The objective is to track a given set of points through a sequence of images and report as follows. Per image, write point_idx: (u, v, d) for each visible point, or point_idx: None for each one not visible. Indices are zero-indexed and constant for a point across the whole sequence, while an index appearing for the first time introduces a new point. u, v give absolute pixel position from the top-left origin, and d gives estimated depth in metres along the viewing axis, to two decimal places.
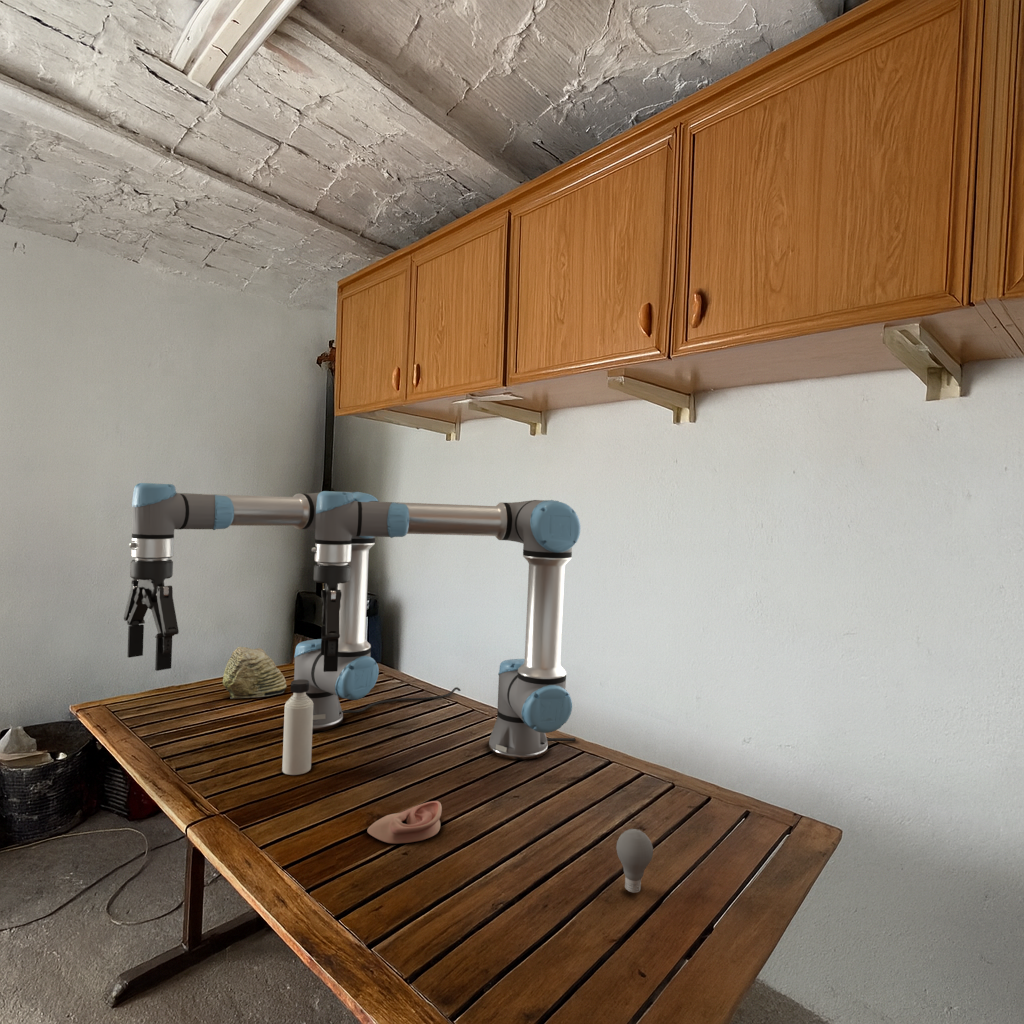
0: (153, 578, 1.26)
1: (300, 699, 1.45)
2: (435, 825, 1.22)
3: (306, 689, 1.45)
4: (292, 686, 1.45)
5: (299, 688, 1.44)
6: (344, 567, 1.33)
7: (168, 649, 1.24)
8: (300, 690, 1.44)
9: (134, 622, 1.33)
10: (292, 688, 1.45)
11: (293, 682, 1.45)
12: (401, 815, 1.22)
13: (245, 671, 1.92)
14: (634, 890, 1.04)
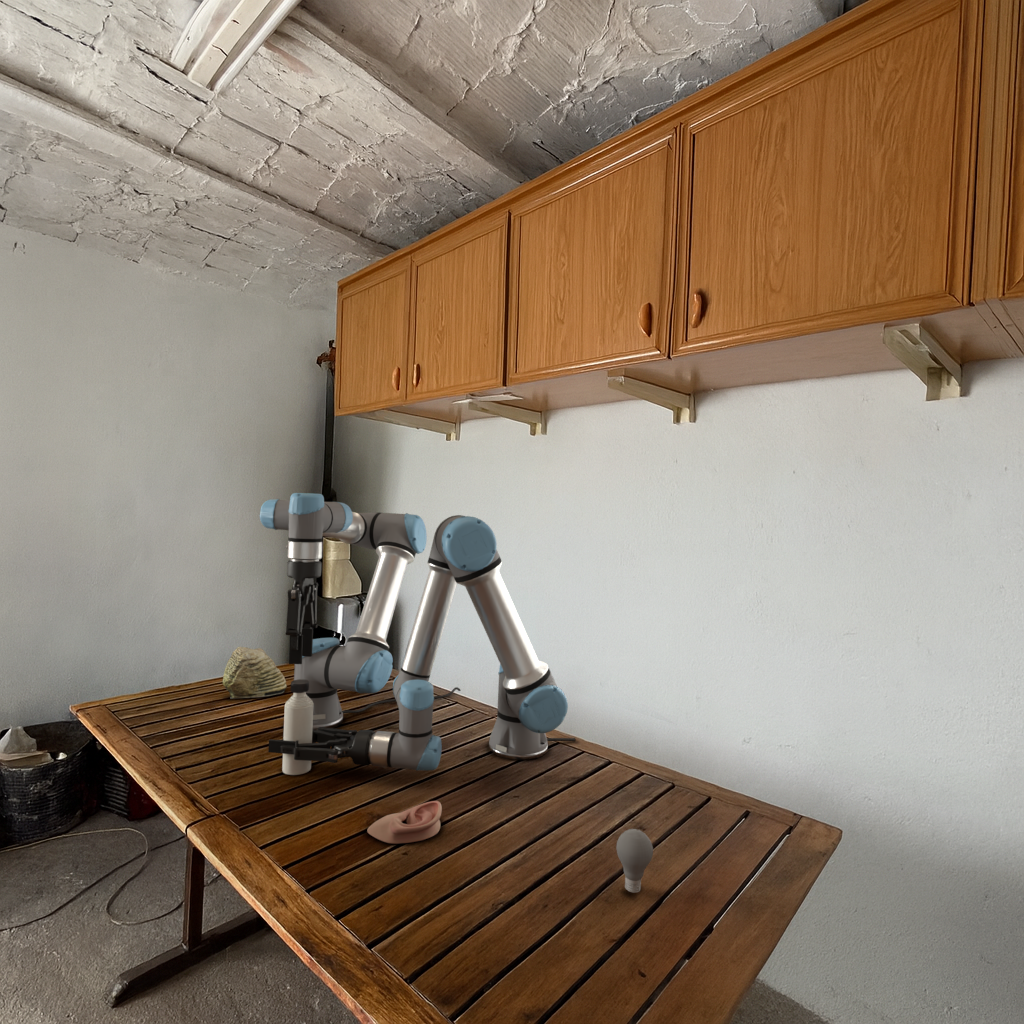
0: (293, 576, 1.42)
1: (300, 699, 1.45)
2: (435, 825, 1.22)
3: (306, 689, 1.45)
4: (292, 686, 1.45)
5: (299, 688, 1.44)
6: None
7: (294, 646, 1.41)
8: (300, 690, 1.44)
9: (306, 624, 1.50)
10: (292, 688, 1.45)
11: (293, 682, 1.45)
12: (401, 815, 1.22)
13: (245, 671, 1.92)
14: (634, 890, 1.04)
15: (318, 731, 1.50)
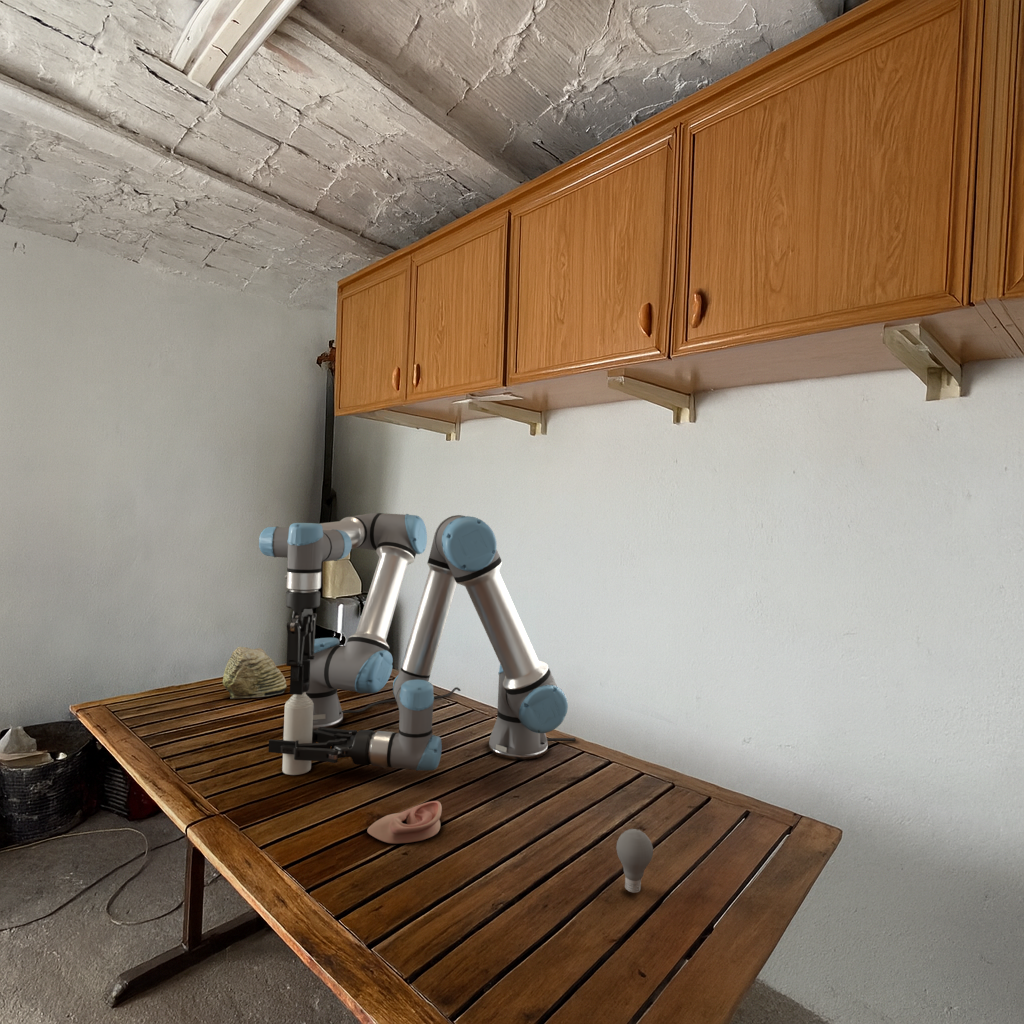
0: (292, 607, 1.42)
1: (300, 699, 1.45)
2: (435, 825, 1.22)
3: (306, 689, 1.45)
4: None
5: None
6: None
7: (295, 677, 1.42)
8: None
9: (303, 656, 1.49)
10: None
11: None
12: (401, 815, 1.22)
13: (245, 671, 1.92)
14: (634, 890, 1.04)
15: (318, 731, 1.50)
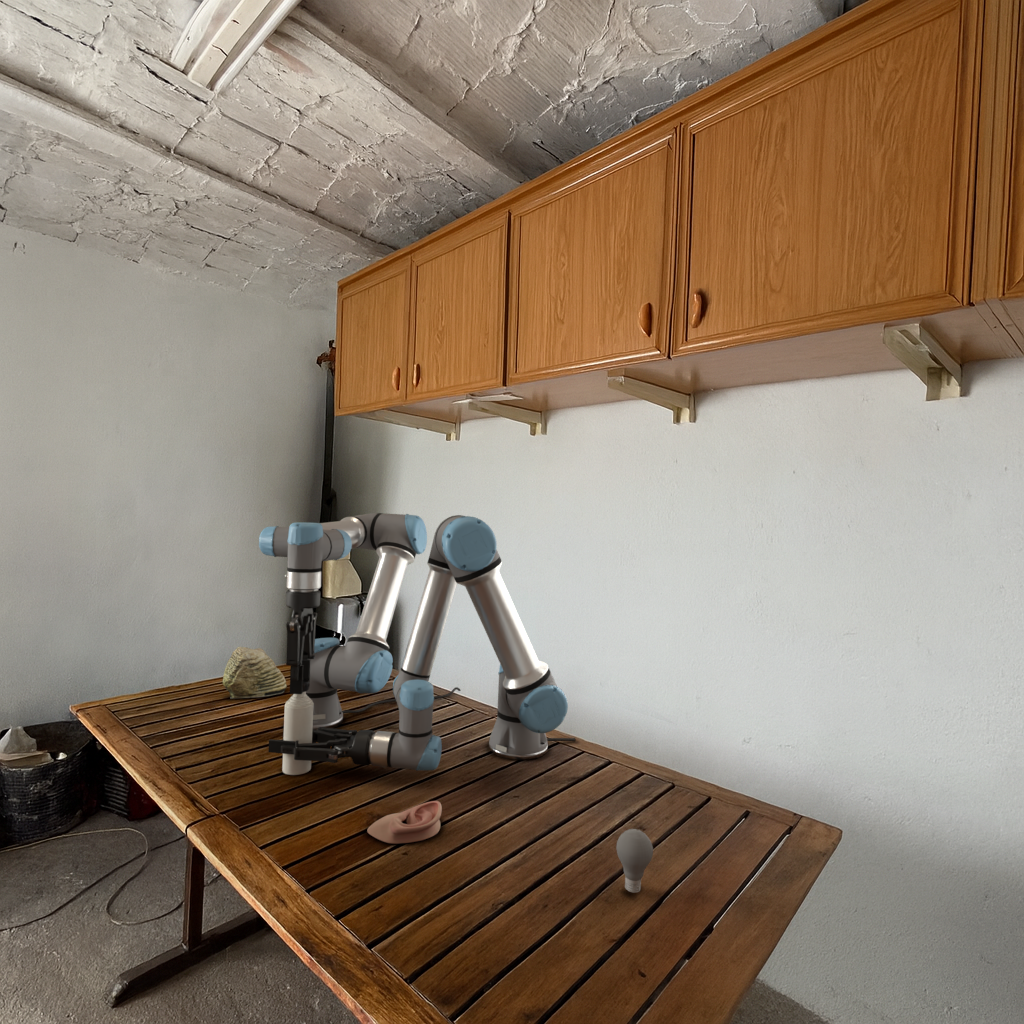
0: (292, 607, 1.42)
1: (300, 699, 1.45)
2: (435, 825, 1.22)
3: None
4: (307, 684, 1.46)
5: None
6: None
7: (295, 677, 1.42)
8: None
9: (304, 655, 1.49)
10: (307, 686, 1.46)
11: (304, 682, 1.45)
12: (401, 815, 1.22)
13: (245, 671, 1.92)
14: (634, 890, 1.04)
15: (318, 731, 1.50)
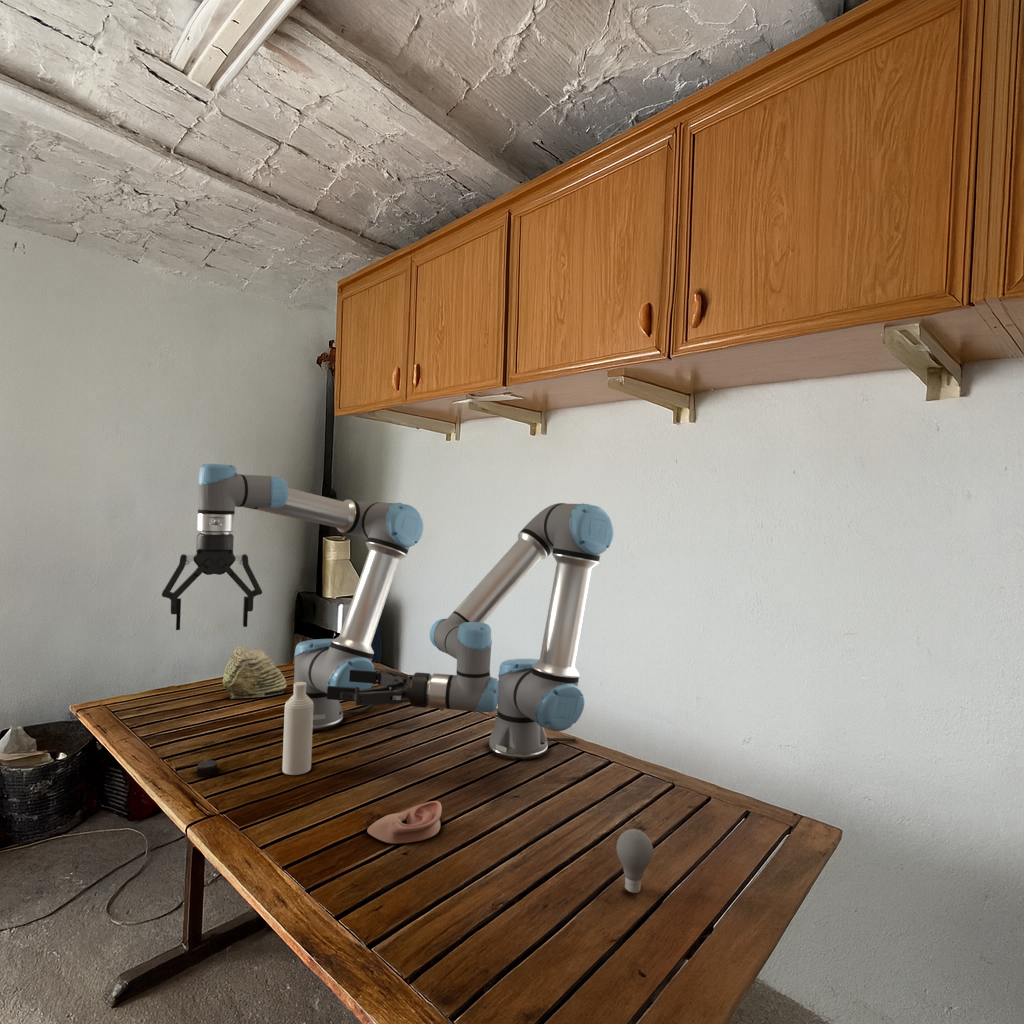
0: (232, 549, 1.42)
1: (300, 699, 1.45)
2: (435, 825, 1.22)
3: None
4: (215, 767, 1.42)
5: None
6: None
7: (252, 607, 1.46)
8: None
9: None
10: (215, 769, 1.42)
11: (211, 765, 1.42)
12: (401, 815, 1.22)
13: (245, 671, 1.92)
14: (634, 890, 1.04)
15: (383, 672, 1.51)
